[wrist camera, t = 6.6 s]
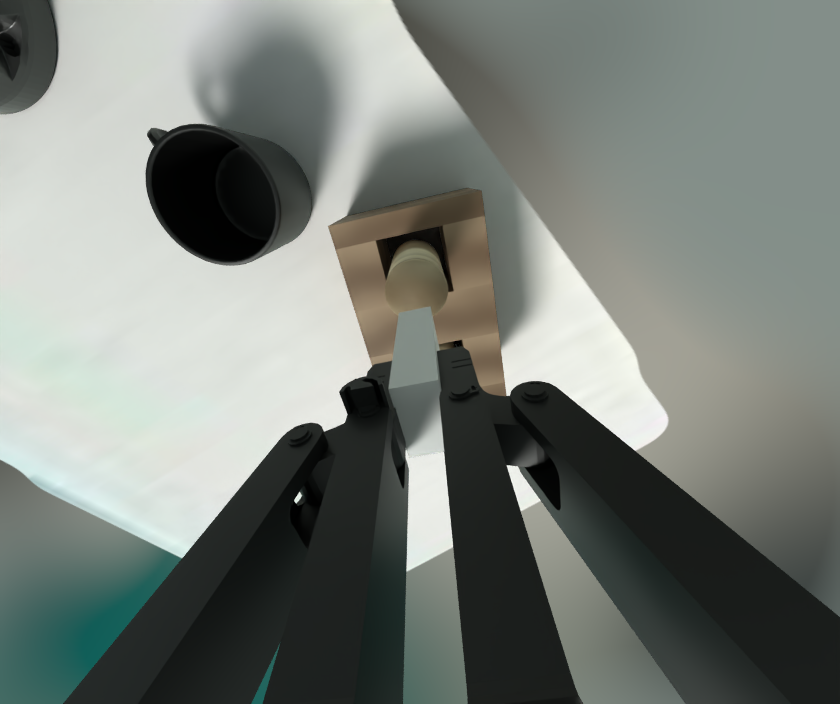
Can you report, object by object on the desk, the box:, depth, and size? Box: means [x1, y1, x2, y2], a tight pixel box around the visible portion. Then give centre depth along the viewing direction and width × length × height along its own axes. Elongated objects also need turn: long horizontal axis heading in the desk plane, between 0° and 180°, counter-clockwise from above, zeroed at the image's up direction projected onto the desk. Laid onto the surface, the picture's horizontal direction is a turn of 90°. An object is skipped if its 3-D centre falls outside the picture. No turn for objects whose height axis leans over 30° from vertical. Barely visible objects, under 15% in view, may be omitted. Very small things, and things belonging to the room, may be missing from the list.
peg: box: [385, 240, 448, 317], centre depth 26 cm, size 4×4×8 cm
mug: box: [146, 124, 312, 265], centre depth 29 cm, size 9×12×9 cm
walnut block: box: [328, 188, 506, 396], centre depth 34 cm, size 19×12×8 cm, turn 12°
